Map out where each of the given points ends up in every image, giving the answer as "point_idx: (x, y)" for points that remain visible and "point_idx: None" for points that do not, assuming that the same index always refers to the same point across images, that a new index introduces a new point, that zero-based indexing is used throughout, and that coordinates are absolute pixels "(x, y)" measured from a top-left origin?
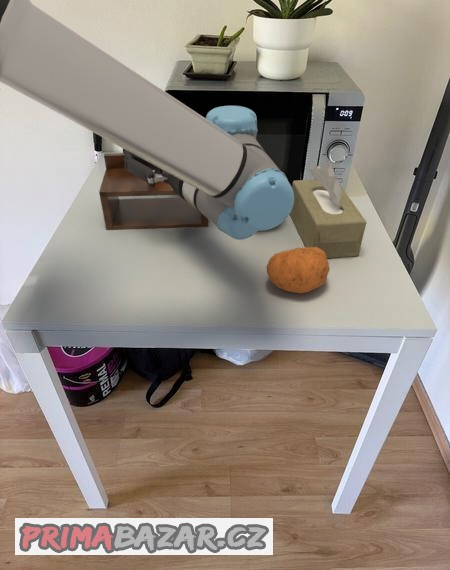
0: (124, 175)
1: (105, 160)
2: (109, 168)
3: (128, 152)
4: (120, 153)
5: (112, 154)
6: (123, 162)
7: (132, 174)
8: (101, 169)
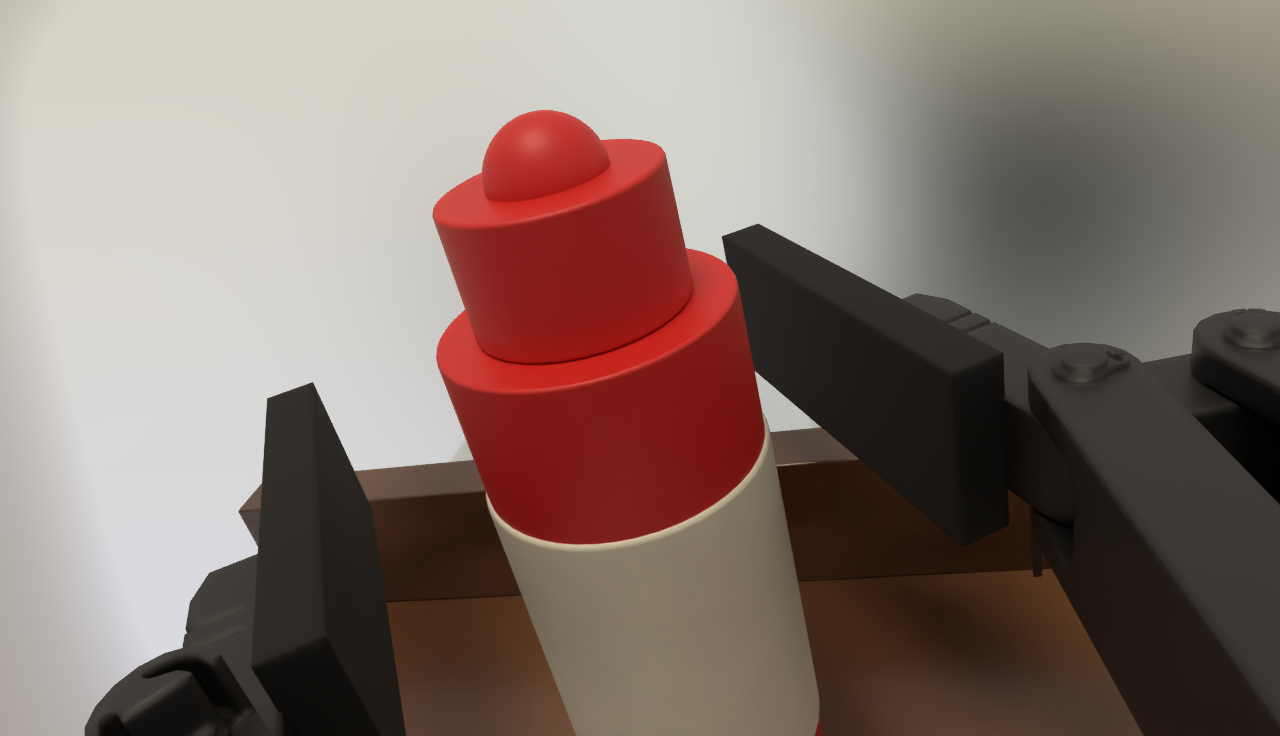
0: None
1: None
2: None
3: (228, 622)
4: (389, 473)
5: None
6: (419, 555)
7: (476, 715)
8: (471, 457)
